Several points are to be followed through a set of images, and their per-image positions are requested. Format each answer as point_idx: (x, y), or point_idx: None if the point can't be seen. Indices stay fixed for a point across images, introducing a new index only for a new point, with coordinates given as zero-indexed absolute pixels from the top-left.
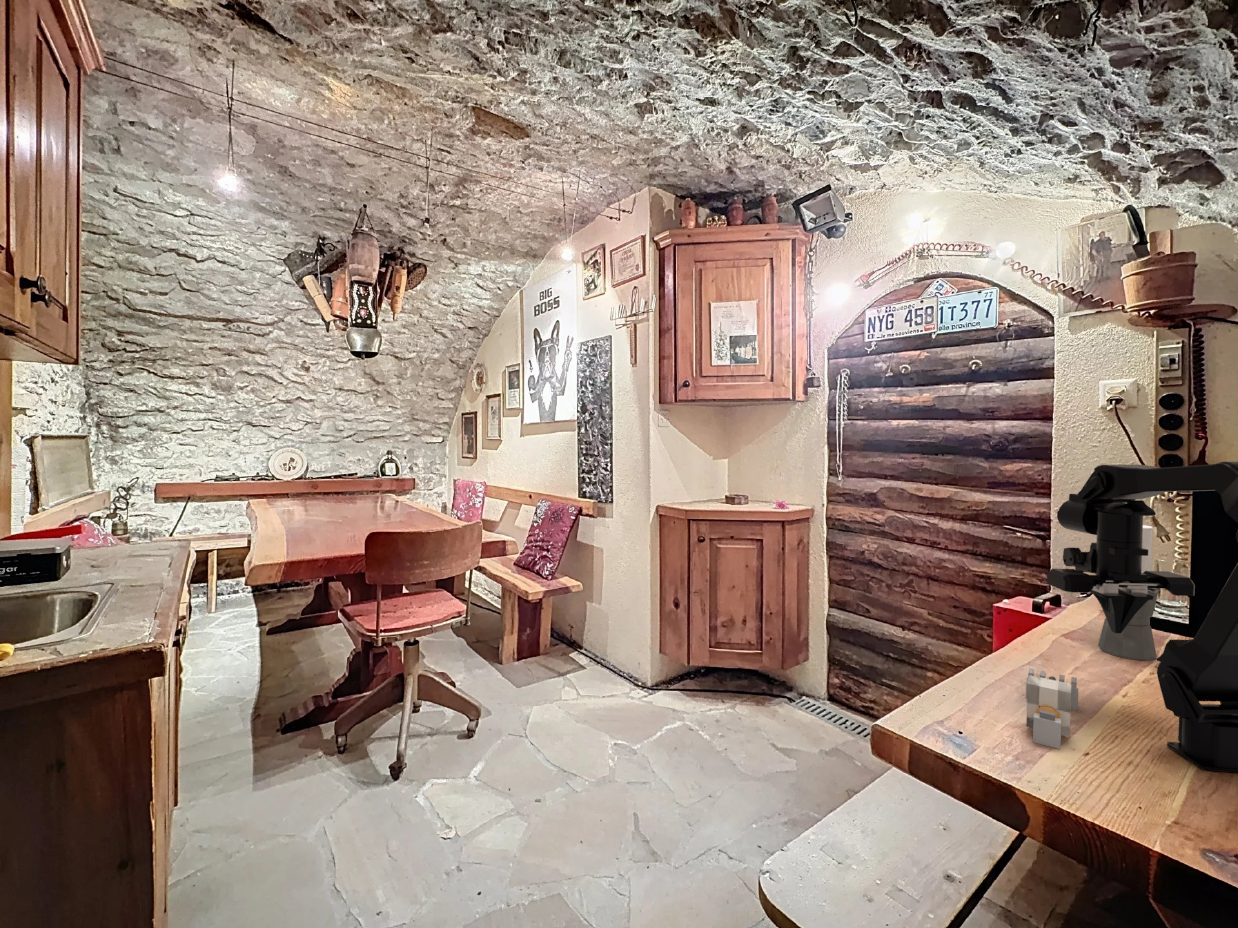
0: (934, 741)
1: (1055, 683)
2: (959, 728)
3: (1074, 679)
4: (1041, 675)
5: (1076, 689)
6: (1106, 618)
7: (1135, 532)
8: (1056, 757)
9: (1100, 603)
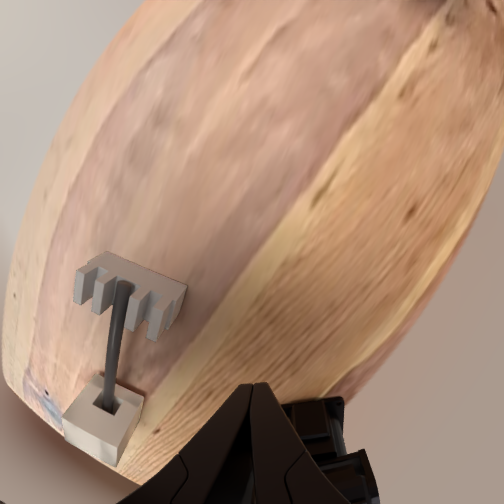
0: (37, 406)
1: (96, 444)
2: (44, 385)
3: (155, 323)
4: (94, 312)
5: (171, 306)
6: (205, 424)
7: None
8: None
9: (141, 494)
